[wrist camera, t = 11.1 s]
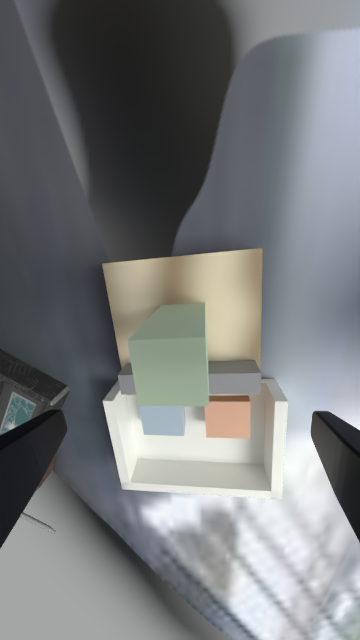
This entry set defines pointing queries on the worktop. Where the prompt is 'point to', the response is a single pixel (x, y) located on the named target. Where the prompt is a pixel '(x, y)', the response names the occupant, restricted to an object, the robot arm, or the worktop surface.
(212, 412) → the tile
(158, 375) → the green grey branched block
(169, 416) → the tile
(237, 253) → the board
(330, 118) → the worktop surface
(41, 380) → the radio
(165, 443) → the tray
